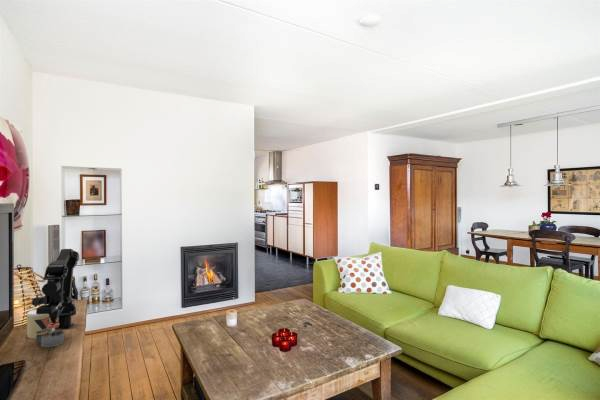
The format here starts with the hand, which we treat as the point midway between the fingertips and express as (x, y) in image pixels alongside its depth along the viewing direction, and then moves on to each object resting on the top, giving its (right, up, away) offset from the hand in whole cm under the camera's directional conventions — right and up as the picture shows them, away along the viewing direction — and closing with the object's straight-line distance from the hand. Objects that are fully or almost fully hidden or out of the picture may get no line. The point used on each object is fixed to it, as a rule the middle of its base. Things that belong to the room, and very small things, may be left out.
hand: (53, 322), depth 154 cm
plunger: (0, -5, 0) cm, 5 cm away
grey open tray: (-2, -10, 0) cm, 10 cm away
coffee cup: (-14, -10, +8) cm, 19 cm away
